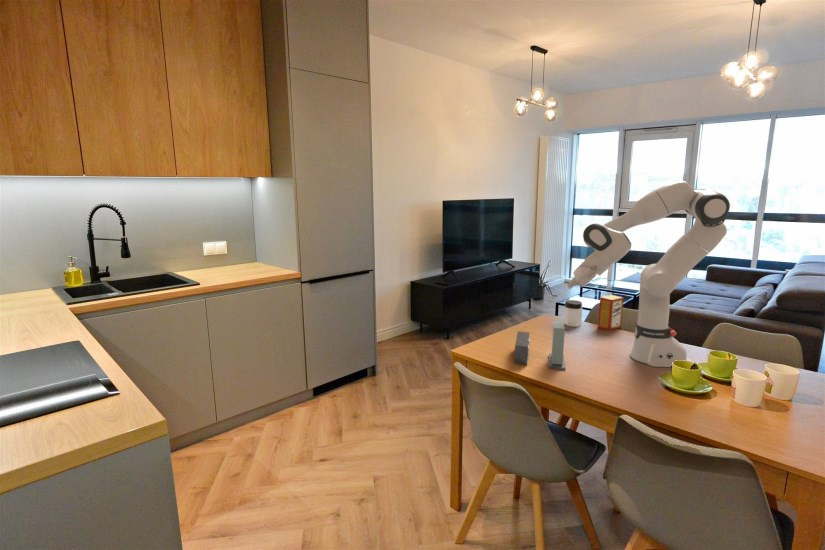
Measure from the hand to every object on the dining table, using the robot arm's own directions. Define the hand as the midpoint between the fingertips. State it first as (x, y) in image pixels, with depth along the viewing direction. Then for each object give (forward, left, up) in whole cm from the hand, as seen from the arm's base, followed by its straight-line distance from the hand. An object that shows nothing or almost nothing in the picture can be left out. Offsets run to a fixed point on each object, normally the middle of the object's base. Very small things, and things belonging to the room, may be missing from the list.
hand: (568, 287), depth 184 cm
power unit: (+17, +9, -29) cm, 35 cm away
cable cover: (+3, +12, -28) cm, 31 cm away
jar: (-6, -43, -29) cm, 52 cm away
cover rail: (+3, +12, -29) cm, 32 cm away
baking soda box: (-24, -43, -29) cm, 57 cm away
